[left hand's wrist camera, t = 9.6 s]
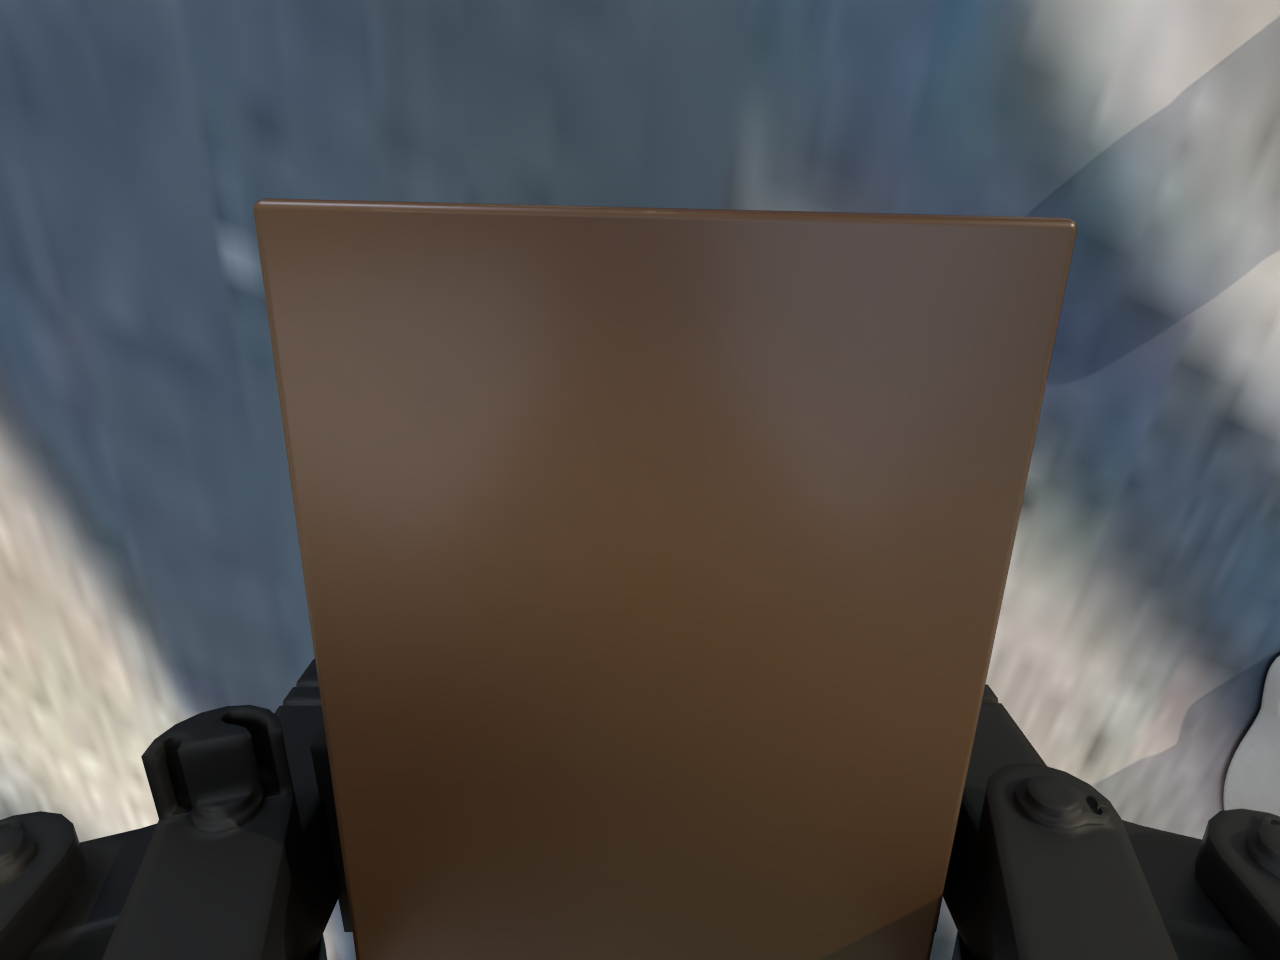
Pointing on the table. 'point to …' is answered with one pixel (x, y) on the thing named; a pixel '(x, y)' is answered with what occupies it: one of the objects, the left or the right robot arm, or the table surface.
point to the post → (653, 561)
